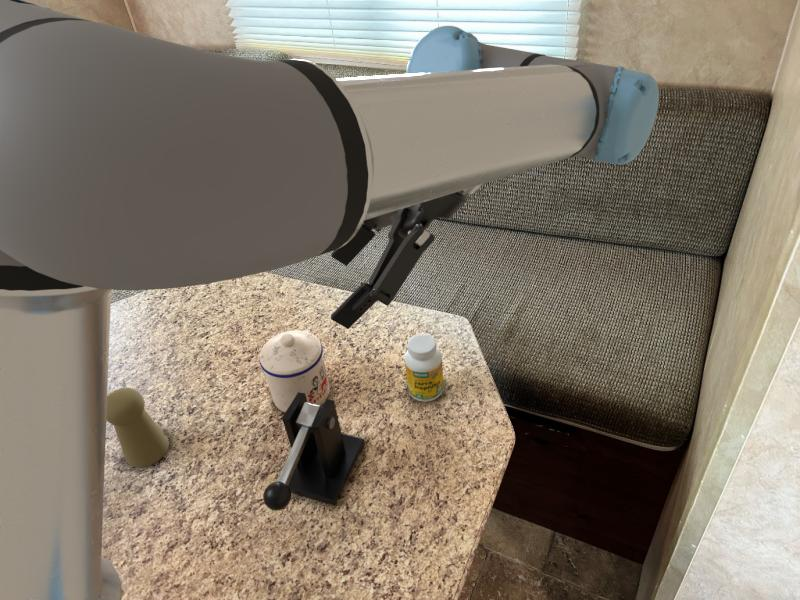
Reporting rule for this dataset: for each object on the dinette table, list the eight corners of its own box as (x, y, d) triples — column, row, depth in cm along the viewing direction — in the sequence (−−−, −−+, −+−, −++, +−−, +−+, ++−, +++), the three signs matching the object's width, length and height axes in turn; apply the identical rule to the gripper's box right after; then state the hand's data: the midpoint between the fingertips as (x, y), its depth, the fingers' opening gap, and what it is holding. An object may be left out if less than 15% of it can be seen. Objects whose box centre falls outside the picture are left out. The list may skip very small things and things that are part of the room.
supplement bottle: (438, 373, 93) (435, 326, 87) (448, 398, 89) (445, 351, 83) (404, 380, 92) (399, 334, 86) (412, 406, 88) (407, 360, 82)
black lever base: (334, 506, 77) (319, 448, 69) (279, 490, 79) (259, 432, 72) (365, 444, 84) (354, 386, 76) (313, 431, 86) (297, 373, 79)
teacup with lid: (324, 418, 88) (310, 362, 80) (264, 415, 89) (245, 359, 82) (341, 360, 97) (330, 304, 90) (286, 357, 98) (271, 302, 91)
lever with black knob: (288, 517, 70) (279, 508, 67) (264, 510, 71) (254, 501, 68) (329, 416, 77) (323, 405, 74) (307, 411, 78) (299, 399, 75)
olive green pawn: (151, 471, 83) (122, 419, 76) (116, 462, 85) (84, 410, 78) (177, 437, 87) (151, 385, 80) (143, 428, 89) (115, 376, 82)
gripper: (491, 250, 64) (365, 367, 73) (454, 148, 83) (358, 250, 92) (439, 211, 60) (313, 339, 69) (413, 115, 80) (318, 225, 89)
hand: (339, 289), depth 81 cm, fingers open, 13 cm apart
